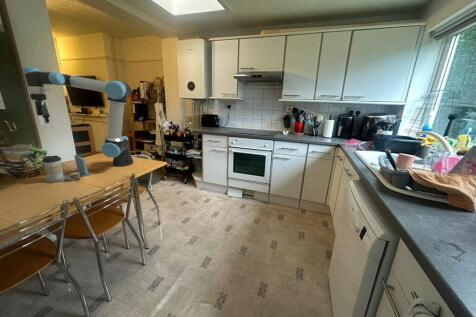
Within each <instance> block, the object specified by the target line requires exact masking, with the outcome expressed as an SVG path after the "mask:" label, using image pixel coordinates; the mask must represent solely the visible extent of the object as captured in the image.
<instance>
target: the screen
mask: <svg viewBox="0 0 476 317" xmlns="http://www.w3.org/2000/svg"><path fill="white" fill-rule="evenodd" d="M73 157H74V160H75V164H76V169H75V170H74V173H75V172H80V177H82V178H85V177H89V176H91V175H92V173H91V172H90V171H88V166H87V161H86V159H85V158H84V157H81V155H78V154H75V155H74V156H73Z"/></svg>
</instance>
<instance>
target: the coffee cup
mask: <svg viewBox="0 0 476 317" xmlns="http://www.w3.org/2000/svg"><path fill="white" fill-rule="evenodd" d="M42 164H43V165H44V166H43V167H44V168H45V171H46V174H47V175H48V178H49V179H50V180H58V179H62V178H63V175H64V169H63V163H62V158H61V157H60V156H58V155H46V156H45V157H44V158H43V159H42Z"/></svg>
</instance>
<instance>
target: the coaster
mask: <svg viewBox="0 0 476 317" xmlns="http://www.w3.org/2000/svg"><path fill="white" fill-rule="evenodd" d="M68 179H70V174H63V178H62V179H58V180H50V179H49V177H47V178H45V183H48V184H49V183H50V184H52V183H54V184H55V183H61V182H64V181H66V180H68Z"/></svg>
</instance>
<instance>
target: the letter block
mask: <svg viewBox="0 0 476 317" xmlns="http://www.w3.org/2000/svg"><path fill="white" fill-rule="evenodd" d="M81 177H82V176H81V175H80V172H75V171H74V172H70V174H69V179H70V182H78V181H81V179H82V178H81Z"/></svg>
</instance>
